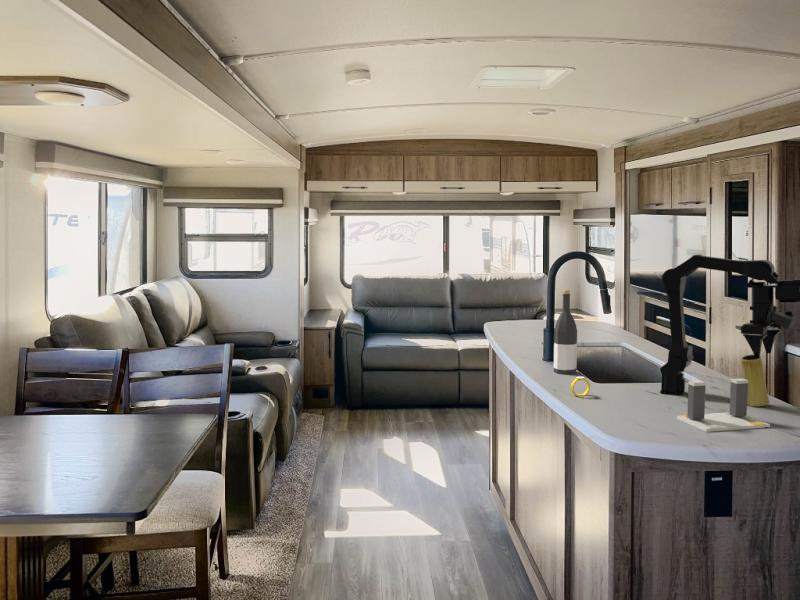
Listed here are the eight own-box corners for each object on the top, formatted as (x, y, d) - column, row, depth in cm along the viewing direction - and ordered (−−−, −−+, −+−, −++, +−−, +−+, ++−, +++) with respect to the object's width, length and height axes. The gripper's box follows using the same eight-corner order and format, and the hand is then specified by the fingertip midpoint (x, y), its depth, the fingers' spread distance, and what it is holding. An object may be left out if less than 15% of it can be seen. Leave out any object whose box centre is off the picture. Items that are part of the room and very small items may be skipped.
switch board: (677, 418, 203) (677, 415, 203) (737, 414, 206) (738, 411, 206) (705, 431, 190) (706, 428, 190) (769, 427, 194) (770, 423, 194)
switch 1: (687, 417, 200) (688, 381, 199) (698, 416, 201) (700, 380, 200) (692, 419, 198) (694, 383, 197) (704, 418, 198) (705, 382, 197)
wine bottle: (554, 374, 262) (555, 290, 259) (553, 369, 270) (554, 288, 266) (577, 374, 260) (578, 290, 257) (575, 370, 268) (577, 288, 265)
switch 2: (729, 414, 203) (730, 378, 202) (740, 413, 203) (742, 378, 202) (735, 416, 200) (736, 380, 199) (746, 415, 201) (748, 380, 200)
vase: (768, 398, 219) (760, 352, 216) (771, 405, 213) (763, 359, 211) (745, 400, 221) (738, 355, 219) (748, 407, 215) (740, 361, 213)
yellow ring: (574, 398, 228) (573, 379, 227) (570, 396, 231) (569, 377, 230) (591, 395, 229) (590, 377, 229) (587, 393, 232) (586, 375, 231)
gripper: (781, 306, 203) (781, 361, 204) (803, 300, 216) (803, 353, 217) (739, 305, 211) (740, 358, 212) (763, 300, 224) (763, 350, 225)
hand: (763, 355), depth 217 cm, fingers open, 9 cm apart
